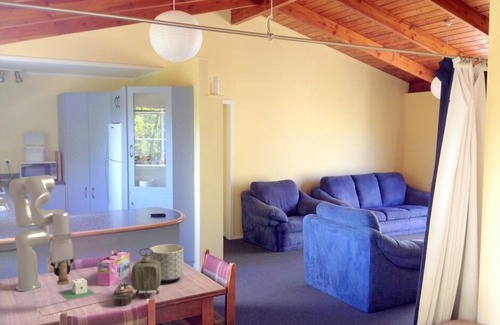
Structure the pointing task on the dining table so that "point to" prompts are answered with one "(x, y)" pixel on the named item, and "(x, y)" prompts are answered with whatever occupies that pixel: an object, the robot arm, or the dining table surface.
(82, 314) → the dining table surface
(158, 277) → the tabletop clock
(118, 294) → the cupcake
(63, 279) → the pawn
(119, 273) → the gum box
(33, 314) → the dining table surface
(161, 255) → the planter
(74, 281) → the die
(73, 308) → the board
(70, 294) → the dice mat
